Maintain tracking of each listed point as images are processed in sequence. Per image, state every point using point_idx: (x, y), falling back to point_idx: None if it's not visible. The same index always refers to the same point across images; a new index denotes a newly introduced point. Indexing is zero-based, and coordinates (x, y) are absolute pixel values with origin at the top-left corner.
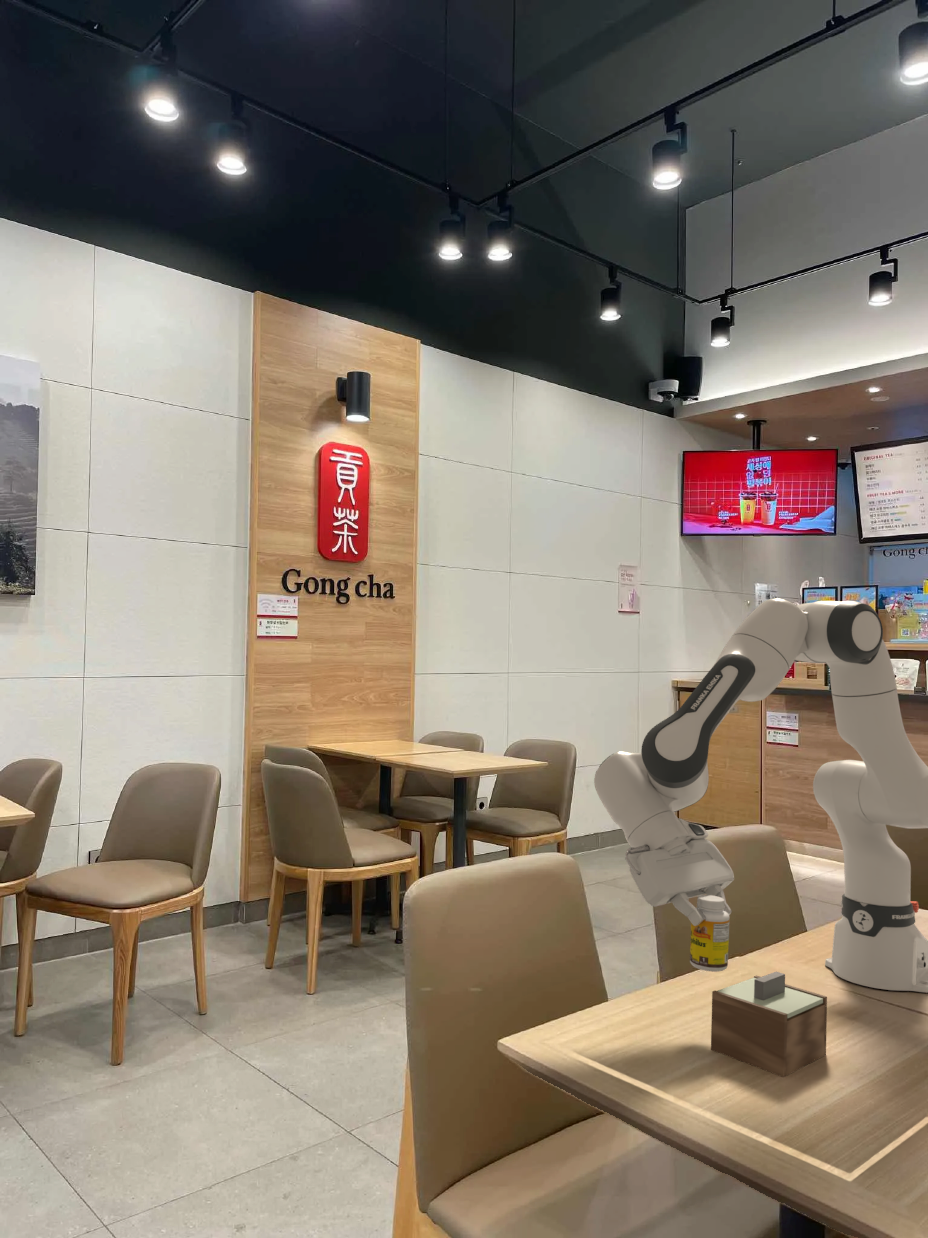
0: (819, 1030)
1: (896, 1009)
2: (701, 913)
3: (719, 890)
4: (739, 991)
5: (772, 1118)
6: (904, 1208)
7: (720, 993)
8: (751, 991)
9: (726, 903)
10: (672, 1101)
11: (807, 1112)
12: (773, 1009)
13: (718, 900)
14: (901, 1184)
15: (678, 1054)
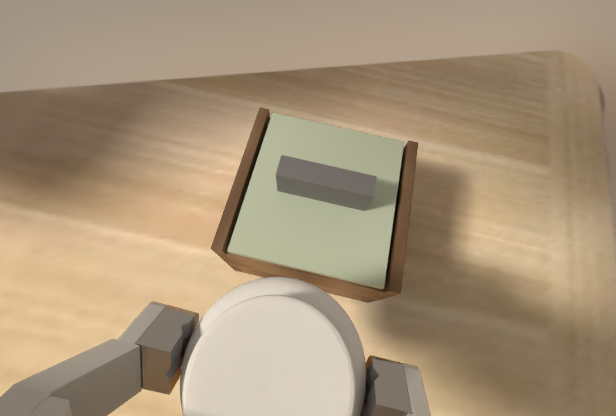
0: None
1: None
2: (389, 382)
3: (44, 404)
4: (348, 246)
5: (492, 175)
6: (549, 58)
7: (398, 273)
8: (329, 226)
9: (128, 331)
10: (557, 287)
11: (445, 149)
12: (406, 163)
13: (297, 319)
14: (514, 63)
15: (408, 346)
